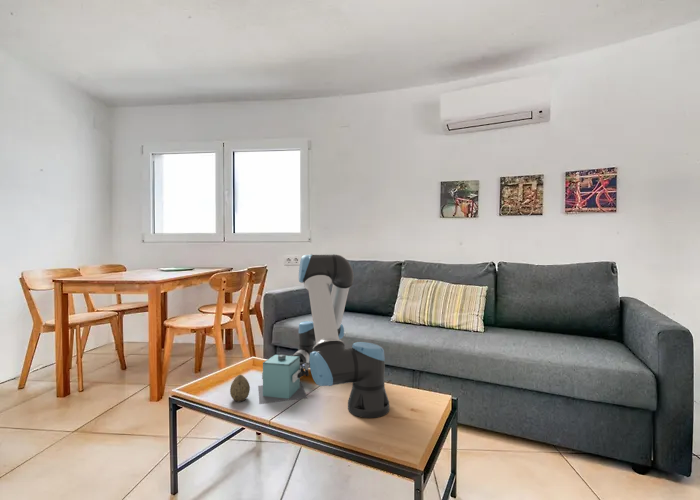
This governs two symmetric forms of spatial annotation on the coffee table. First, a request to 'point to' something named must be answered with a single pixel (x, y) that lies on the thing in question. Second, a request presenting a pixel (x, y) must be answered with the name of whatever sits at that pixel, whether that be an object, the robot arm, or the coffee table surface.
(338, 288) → the robot arm
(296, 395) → the mat
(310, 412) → the coffee table surface
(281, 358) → the teal box with knob
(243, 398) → the decorative egg
